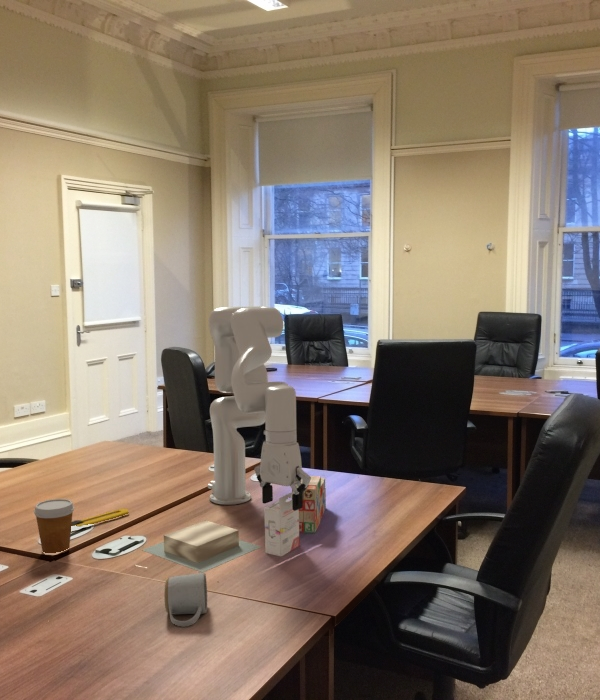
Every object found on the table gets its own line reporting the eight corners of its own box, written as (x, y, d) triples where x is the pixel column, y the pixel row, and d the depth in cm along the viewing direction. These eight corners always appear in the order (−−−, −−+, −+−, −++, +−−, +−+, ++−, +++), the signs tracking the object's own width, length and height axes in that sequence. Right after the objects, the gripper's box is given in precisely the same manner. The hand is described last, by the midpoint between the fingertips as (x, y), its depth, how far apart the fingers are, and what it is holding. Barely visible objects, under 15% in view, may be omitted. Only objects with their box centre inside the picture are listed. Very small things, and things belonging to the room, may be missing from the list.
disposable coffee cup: (38, 561, 169) (36, 512, 168) (33, 548, 178) (31, 501, 177) (79, 554, 174) (77, 506, 172) (72, 541, 182) (70, 496, 181)
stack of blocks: (305, 507, 209) (304, 466, 208) (326, 508, 208) (325, 467, 206) (292, 532, 188) (291, 487, 187) (315, 533, 187) (315, 488, 185)
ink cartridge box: (283, 543, 180) (282, 486, 178) (299, 547, 177) (299, 489, 176) (264, 554, 172) (263, 495, 171) (281, 558, 170) (280, 498, 168)
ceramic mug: (167, 604, 146) (166, 568, 145) (207, 602, 147) (206, 566, 146) (162, 630, 135) (161, 592, 135) (205, 627, 136) (204, 589, 135)
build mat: (141, 551, 175) (141, 549, 175) (201, 529, 190) (201, 527, 190) (202, 574, 161) (202, 572, 161) (261, 548, 176) (261, 546, 176)
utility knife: (47, 531, 191) (47, 523, 191) (119, 510, 208) (119, 504, 208) (60, 537, 187) (60, 529, 186) (133, 515, 203) (133, 509, 203)
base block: (164, 551, 174) (163, 535, 174) (205, 535, 185) (205, 520, 184) (197, 562, 166) (196, 546, 166) (238, 545, 177) (238, 530, 177)
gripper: (244, 435, 175) (246, 503, 176) (298, 443, 164) (299, 516, 165) (265, 430, 180) (266, 496, 182) (318, 438, 169) (319, 508, 171)
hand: (282, 505), depth 173 cm, fingers open, 9 cm apart
